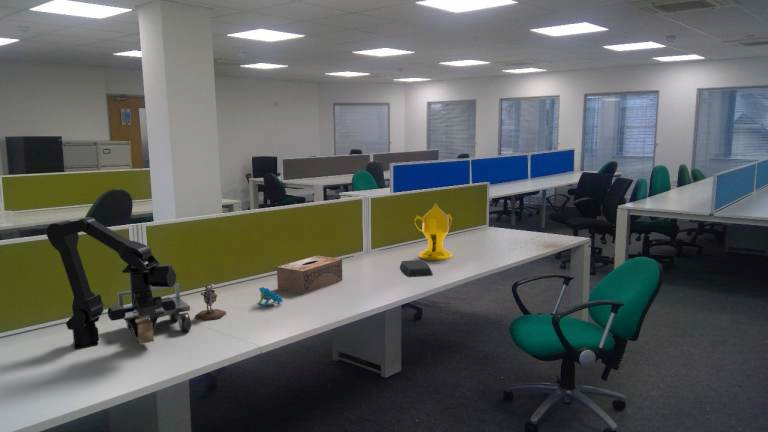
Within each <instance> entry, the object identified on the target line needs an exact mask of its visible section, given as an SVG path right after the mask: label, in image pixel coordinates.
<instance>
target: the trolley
mask: <svg viewBox="0 0 768 432" xmlns="http://www.w3.org/2000/svg"><path fill="white" fill-rule="evenodd" d="M171 288H174V294H175V297H173V298H171V299H172V300H174V301H175V304H176V309H175V310H169V311H165V310H164V309H162V311H163V312H164V313H163V314H161V315H160V317H163V316H164V317H165V316H168V318H169V321H170V322H174V321H178V326H179V331H180V332H181V333H183V332H187V331H191V328H192V323H191V322H192V321H191V317H190V315H189V313H188V312H190V311H191V307H190V304H187V302H186V301H185V300H183V299H182V298H181V290H180V283H175V284H174V286H173V287H153V286H151V292H153V291H157V290H163V289H171ZM126 295H131V290H128V291H121V292H120V291H119V292H117V299H118V300H117V301H118V306H120V305H122V307H123V308H128V307H132V305H128V306H124V300H123V296H126ZM136 310H137V309H136ZM133 316H134V317H135V320H137V319H142V318H149V319H150V315H145V316H143V317H141V316H139V315H138V312H136V313H133ZM125 323H126V328H127V329H128V330H133V329H132V327H131V325H130V323H129V321H128V320H127V321H125ZM133 333H134V332H133ZM134 337H135V341H137V339H136V335H135V333H134Z"/></svg>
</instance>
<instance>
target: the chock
mask: <svg viewBox="0 0 768 432" xmlns="http://www.w3.org/2000/svg"><path fill="white" fill-rule="evenodd" d="M135 321H136V327H137V331H138V337H136V338H135V340H136V339H137V340H136V341H137V342H138V343H139V345H143V344H147V343H151V342H154V341H155V339H154V331H153V323H152V322H151V320H150V318H142V319H137V320H135Z"/></svg>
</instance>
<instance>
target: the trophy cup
mask: <svg viewBox="0 0 768 432" xmlns="http://www.w3.org/2000/svg"><path fill="white" fill-rule="evenodd" d="M417 220H420V221H422V226H421V228H422V229H421V228H419V227H418V225H417V223H416V221H417ZM413 222H414V225H415V227H416V229H418V231H420V232H421V233H423V235H424V236H425V238H426V240H427V247H426V248H425V249H423V250H420V252H419V253H418V257H419V258H420V259H421V260H427V261H440V260H441V261H442V260H448V259H451V258H452V256H453V251H450V250H449V249H446V248H445V246H444V239H445V237H446V236H447V235H448V233H449V230H450V229H451V226H452V222H453V217H452V216H451V214H450V213H448V214H447V213H445V212H444V211H443V210H442V209H441V208H439V206H438V203H434V204H433V206H432V208H431V209H429V210H428V211H427V212H426V213H424V215H423V216H420V215H416V216H415V218H414V220H413Z"/></svg>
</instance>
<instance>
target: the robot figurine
mask: <svg viewBox="0 0 768 432" xmlns="http://www.w3.org/2000/svg"><path fill="white" fill-rule="evenodd" d="M214 286H215V285H214V284H213V283H212V284H211V285H210V286H209V287H208V285H205V286H204V288H205V291H203V292H200V295H201V296H203V301H204V303H205V304H206V310H201V311H199V312H197V314H195V315H194V318H195V319H197V320H200V321H203V322H206V321H213V320H214V319H215V320H220V319H222V318H223V317H224V316H225V315H227V312H226V311H225V310H221V309H218V308H212V305H213V304H214V303H215V302H216V301H217V297H218V294H216V293H215V289H214V288H213V287H214Z"/></svg>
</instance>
